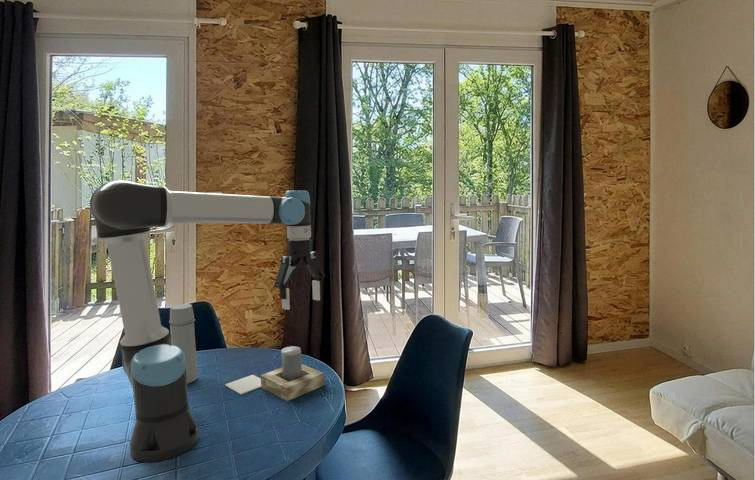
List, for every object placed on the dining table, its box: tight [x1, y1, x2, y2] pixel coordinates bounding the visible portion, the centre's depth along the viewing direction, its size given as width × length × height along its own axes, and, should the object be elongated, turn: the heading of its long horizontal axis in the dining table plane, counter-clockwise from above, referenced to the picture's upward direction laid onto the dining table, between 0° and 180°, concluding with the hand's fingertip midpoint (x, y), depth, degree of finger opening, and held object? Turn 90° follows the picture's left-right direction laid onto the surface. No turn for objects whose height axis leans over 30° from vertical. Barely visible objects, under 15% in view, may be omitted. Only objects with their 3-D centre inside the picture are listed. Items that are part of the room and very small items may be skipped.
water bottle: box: [168, 303, 199, 385], centre depth 145 cm, size 9×8×25 cm
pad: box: [224, 374, 262, 396], centre depth 142 cm, size 10×10×1 cm
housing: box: [260, 363, 325, 402], centre depth 140 cm, size 14×14×4 cm
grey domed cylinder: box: [280, 345, 302, 382], centre depth 139 cm, size 6×6×12 cm
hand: (301, 304), depth 143 cm, fingers open, 13 cm apart
